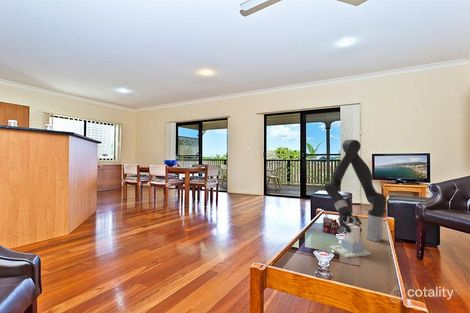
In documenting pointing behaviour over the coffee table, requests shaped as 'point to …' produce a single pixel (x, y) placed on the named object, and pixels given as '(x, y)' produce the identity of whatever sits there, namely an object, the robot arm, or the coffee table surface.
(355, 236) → the cream column brick
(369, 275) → the coffee table surface
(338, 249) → the building plate
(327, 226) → the dark red irregular lump
